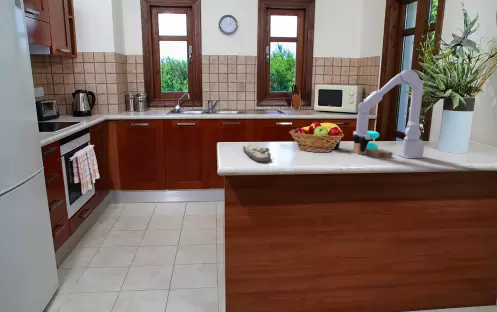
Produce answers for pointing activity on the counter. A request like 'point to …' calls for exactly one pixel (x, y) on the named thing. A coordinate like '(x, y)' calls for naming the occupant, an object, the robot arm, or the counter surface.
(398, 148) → the counter surface
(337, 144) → the coffee mug
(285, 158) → the counter surface
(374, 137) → the donuts
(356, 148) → the cube
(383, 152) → the slab
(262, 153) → the long grey stone
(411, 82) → the robot arm
